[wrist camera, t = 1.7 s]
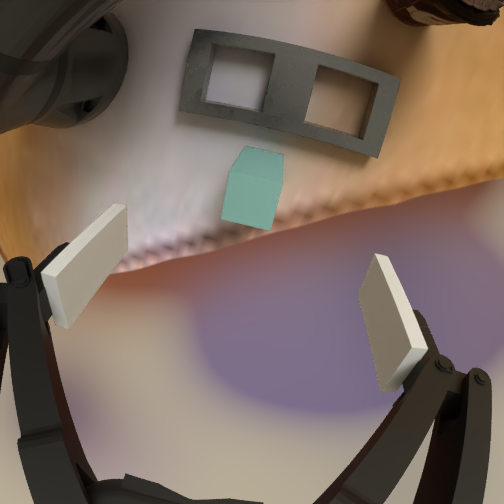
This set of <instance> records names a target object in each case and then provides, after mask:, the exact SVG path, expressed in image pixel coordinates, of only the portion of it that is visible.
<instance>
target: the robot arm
mask: <svg viewBox="0 0 504 504" xmlns="http://www.w3.org/2000/svg"><path fill="white" fill-rule="evenodd" d="M121 1H123V0H0V134H2V133H4V132H7V131H10V130H13V129H16V128H18V127H21V126H24V125H27V124H36V125H42V126H47V127H53V128H68V127H72V126H76V125H79V124H82V123H85V122H87V121H89V120H91V119H93V118H95V117H96V116H97V115H99V114H100V113H101V112H102V111H103V110H104V109H105V108H106V107H107V106H108V105H109V104H110V103H111V101H112V100H113V99H114V97H115V95H116V94H117V92H118V90H119V88H120V86H121V84H122V81H123V78H124V75H125V72H126V67H127V61H128V45H127V39H126V35H125V32H124V30H123V28H122V26H121V24H120V22H119V21H118V20H117V19H116V18H115V16H113V15H112V14H111V13H110V12H108V11H110V10H111V9H112V8H114V7H115V6H116V5H117V4H119V3H120V2H121ZM127 251H128V233H127V205H122V204H116V203H114V204H113V205H112V206H111V207H110V208H108V209H107V210H106V211H105V212H104V213H103V214H102V215H100V216H99V217H98V218H97V219H96V220H95V221H94V222H93V223H91V224H90V225H89V226H88V227H87V228H86V229H85V230H84V231H83V232H82V233H81V234H79V235H78V236H77V237H76V238H75V239H74V240H73V241H72V242H71V243H67V242H66V243H64V244H62V245H60V246H58V247H57V248H56V249H54V250H53V251H52V252H51V254H49V255H48V256H47V257H46V259H44V260H43V261H42V262H41V263H40V264H39V265H38V266H37V267H36V268H35V269H34V270H33V267H32V263H31V260H30V259H29V258H27V257H23V256H21V257H15V258H12V259H11V260H9V261H7V262H6V264H5V265H4V267H3V271H4V274H5V278H6V281H7V283H0V390H1V383H2V376H3V370H4V364H5V358H6V353H7V348H8V343H9V356H10V367H11V377H12V385H13V392H14V399H15V405H16V410H17V416H18V422H19V426H20V431H21V438H19V439H18V443H17V444H18V451H19V455H20V458H21V462H22V466H23V470H24V473H25V476H26V480H27V483H28V486H29V490H30V493H31V496H32V499H33V501H34V504H263V503H262V502H252V501H244V500H236V499H230V498H229V499H210V500H192V499H189V498H186V497H184V496H182V495H180V494H178V493H176V492H174V491H172V490H170V489H168V488H166V487H164V486H162V485H160V484H158V483H155V482H151V481H148V480H145V479H141V478H138V477H135V476H132V475H128V474H125V477H124V479H108V480H102V481H97V478H96V477H95V474H94V473H93V471H92V469H91V467H90V465H89V463H88V461H87V459H86V457H85V454H84V451H83V449H82V446H81V443H80V441H79V438H78V435H77V432H76V429H75V426H74V423H73V420H72V417H71V414H70V411H69V407H68V404H67V400H66V397H65V393H64V390H63V386H62V382H61V378H60V375H59V370H58V366H57V362H56V357H55V352H54V347H53V343H52V337H51V332H50V326H49V323H48V320H49V318H50V317H51V316H52V315H53V319H54V322H55V325H58V326H60V327H63V328H66V329H70V328H71V326H72V325H73V324H74V322H75V320H76V319H77V318H78V316H79V315H80V313H81V312H82V311H83V309H84V308H85V306H86V305H87V304H88V302H89V301H90V299H91V298H92V297H93V295H94V294H95V293H96V291H97V290H98V288H99V287H100V286H101V285H102V283H103V282H104V280H105V279H106V278H107V277H108V275H109V274H110V273H111V271H112V270H113V269H114V267H115V266H116V265H117V264H118V262H119V261H120V260H121V258H122V257H123V256H124V255H125V253H126V252H127ZM358 299H359V303H360V306H361V310H362V314H363V318H364V322H365V326H366V330H367V334H368V338H369V342H370V347H371V351H372V355H373V360H374V364H375V369H376V374H377V378H378V383H379V388H380V392H396V391H397V390H398V389H399V387H400V386H401V385H402V384H403V388H404V392H403V393H402V394H401V396H400V397H399V398H398V399H397V401H396V402H395V403H394V404H393V408H392V409H391V411H390V412H389V413H388V415H387V416H386V418H385V419H384V420H383V422H382V423H381V424H380V426H379V427H378V429H377V430H376V431H375V433H374V434H373V435H372V437H371V438H370V439H369V440H368V442H367V443H366V444H365V445H364V447H363V448H362V449H361V450H360V452H359V453H358V454H357V455H356V457H355V458H354V459H353V460H352V461H351V463H350V464H349V465H348V466H347V467H346V469H345V470H344V471H343V472H342V473H341V474H340V475H339V476H338V478H337V479H336V480H335V481H334V482H333V483H332V484H331V485H330V486H329V487H328V488H327V489H326V491H325V492H324V493H323V494H322V495H321V496H320V497H319V498H318V499H317V500H316V501H315V502H314V503H313V504H383V503H384V502H385V501H386V499H387V498H388V496H389V495H390V493H391V492H392V490H393V489H394V488H395V486H396V485H397V483H398V482H399V480H400V479H401V477H402V475H403V474H404V472H405V471H406V469H407V467H408V466H409V464H410V463H411V461H412V459H413V458H414V456H415V454H416V452H417V451H418V449H419V447H420V445H421V443H422V442H423V440H424V438H425V436H426V434H427V432H428V431H429V429H430V427H431V425H432V423H433V421H434V419H435V422H434V427H433V431H432V436H431V441H430V445H429V449H428V454H427V457H426V461H425V465H424V469H423V472H422V476H421V479H420V483H419V486H418V489H417V493H416V495H415V499H414V502H413V504H482V503H483V498H484V492H485V486H486V479H487V471H488V462H489V453H490V440H491V419H492V418H491V417H492V390H491V389H492V388H491V387H492V386H491V379H490V378H489V376H488V374H487V373H486V372H485V371H483V370H482V369H480V368H472V369H471V370H470V371H469V372H468V374H464V373H461V372H458V371H456V370H455V368H454V365H453V363H452V362H451V361H450V360H449V359H448V358H447V357H445V356H443V355H440V354H439V351H438V349H437V346H436V344H435V342H434V339H433V337H432V334H430V333H431V332H430V330H429V328H428V325H427V323H426V321H425V318H424V317H423V316H422V315H421V314H420V312H419V311H418V310H412V308H411V306H410V304H409V301H408V299H407V297H406V295H405V292H404V290H403V288H402V286H401V284H400V281H399V279H398V277H397V275H396V273H395V271H394V269H393V267H392V265H391V262H390V260H389V258H388V257H387V256H384V255H379V254H374V257H373V260H372V262H371V264H370V267H369V269H368V272H367V274H366V276H365V279H364V281H363V283H362V286H361V288H360V290H359V292H358Z"/></svg>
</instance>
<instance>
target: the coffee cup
mask: <svg viewBox="0 0 504 504" xmlns="http://www.w3.org/2000/svg"><path fill="white" fill-rule="evenodd" d="M503 1H504V0H385V2H386V4H387V6H388V8H389V10H390V11H391V13H392V14H393V15H394V16H395V17H397V18H398V19H399V20H401V21H402V22H404V23H406V24H408V25H411V26H428V25H450V24H460V23H468V24H470V25H475V26H486V25H492V24H493V22H494V21H495V20H496V19H497V18H498V17H500V15H499V12H500V11H499V8H501V7H502V6H504V2H503Z"/></svg>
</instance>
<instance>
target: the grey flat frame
mask: <svg viewBox="0 0 504 504" xmlns="http://www.w3.org/2000/svg"><path fill="white" fill-rule="evenodd" d="M216 46H224V47H231V48H238V49H244V50H250V51H255V52H261V53H266V54H271V55H275V59H274V63H273V68H272V72H271V76H270V80H269V85H268V89H267V93H266V98H265V102H264V106H263V111H260V110H256V109H251V108H246V107H241V106H236V105H230V104H225V103H219V102H213V101H207V100H206V95H207V90H208V84H209V79H210V75H211V70H212V65H213V60H214V56H215V51H216ZM318 66H320V67H324V68H327V69H331V70H334V71H338V72H341V73H344V74H347V75H350V76H353V77H356V78H359V79H362V80H365V81H368V82H371V83H374V85H373V88H372V92H371V96H370V99H369V103H368V107H367V110H366V114H365V117H364V121H363V124H362V128H361V131H360V135H359V137H357V136H354V135H351V134H348V133H345V132H341V131H338V130H335V129H331V128H328V127H324V126H321V125H317V124H314V123H310V122H306V121H304V120H305V116H306V112H307V108H308V104H309V100H310V96H311V92H312V88H313V84H314V80H315V76H316V72H317V68H318ZM400 81H401V79H400V78H397V77H395V76H392V75H390V74H387V73H385V72H382V71H379V70H377V69H374V68H371V67H368V66H366V65H363V64H360V63H357V62H354V61H351V60H348V59H345V58H341V57H338V56H335V55H331V54H328V53H324V52H321V51H317V50H313V49H310V48H306V47H302V46H298V45H293V44H289V43H285V42H280V41H275V40H270V39H265V38H260V37H254V36H248V35H242V34H235V33H228V32H220V31H211V30H202V29H195V30H194V35H193V39H192V44H191V48H190V53H189V58H188V63H187V68H186V73H185V79H184V84H183V90H182V95H181V101H180V107H179V111H182V112H188V113H195V114H201V115H207V116H213V117H218V118H224V119H229V120H234V121H239V122H244V123H249V124H254V125H258V126H263V127H267V128H272V129H276V130H280V131H284V132H288V133H292V134H296V135H300V136H304V137H308V138H312V139H315V140H319V141H323V142H326V143H330V144H333V145H336V146H340V147H343V148H346V149H350V150H353V151H356V152H359V153H362V154H365V155H368V156H372V157H375V158H377V159H378V156H379V153H380V150H381V147H382V144H383V141H384V137H385V134H386V131H387V127H388V124H389V121H390V117H391V114H392V110H393V107H394V103H395V100H396V96H397V92H398V89H399V85H400Z"/></svg>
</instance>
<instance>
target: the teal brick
mask: <svg viewBox="0 0 504 504" xmlns="http://www.w3.org/2000/svg"><path fill="white" fill-rule="evenodd" d="M283 161H284V155H283V154H279V153H275V152H270V151H266V150H262V149H257V148H253V147H248V146H245V148H244V149H243V151H242V152H241V154H240V156H239V157H238V159H237V160H236V162H235V163H234V165H233V167H232V168H231V170H230V171H229V177H228V182H227V187H226V192H225V198H224V203H223V208H222V214H221V219H222V220H226V221H230V222H235V223H239V224H243V225H248V226H252V227H256V228H261V229H265V230H269V231H270V230H271V226H272V223H273V219H274V215H275V211H276V207H277V204H278V200H279V196H280V192H281V188H282V185H283Z"/></svg>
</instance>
